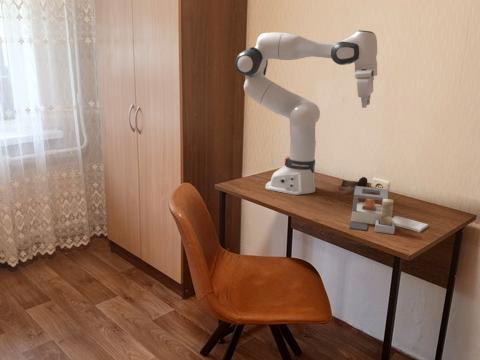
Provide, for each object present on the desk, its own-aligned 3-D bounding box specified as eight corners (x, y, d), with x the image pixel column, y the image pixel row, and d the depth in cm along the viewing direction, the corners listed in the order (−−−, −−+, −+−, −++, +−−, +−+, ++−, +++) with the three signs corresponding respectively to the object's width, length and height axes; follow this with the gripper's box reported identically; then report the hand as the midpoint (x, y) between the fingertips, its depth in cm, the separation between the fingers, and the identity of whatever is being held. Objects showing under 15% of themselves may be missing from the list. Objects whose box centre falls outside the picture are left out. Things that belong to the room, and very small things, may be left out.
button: (364, 209, 176) (365, 199, 175) (364, 206, 179) (365, 196, 178) (373, 210, 175) (375, 200, 174) (374, 207, 178) (375, 197, 177)
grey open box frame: (350, 221, 174) (353, 194, 171) (352, 211, 185) (355, 185, 182) (384, 225, 171) (387, 198, 168) (384, 215, 182) (387, 189, 179)
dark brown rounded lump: (353, 187, 218) (355, 172, 216) (367, 191, 212) (368, 176, 210) (341, 189, 213) (343, 174, 211) (355, 194, 207) (357, 178, 205)
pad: (349, 228, 167) (349, 227, 166) (350, 223, 172) (350, 221, 172) (366, 231, 165) (366, 229, 165) (367, 225, 171) (367, 224, 170)
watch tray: (337, 192, 208) (338, 187, 208) (340, 184, 221) (341, 179, 221) (370, 196, 205) (370, 191, 204) (371, 188, 218) (371, 182, 217)
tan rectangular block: (379, 230, 166) (382, 201, 163) (379, 227, 169) (383, 198, 166) (389, 232, 165) (393, 202, 162) (389, 228, 168) (393, 199, 165)
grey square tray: (374, 231, 165) (375, 224, 164) (375, 225, 171) (375, 218, 170) (393, 234, 163) (394, 227, 163) (393, 227, 169) (394, 221, 169)
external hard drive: (395, 219, 180) (428, 227, 172) (386, 224, 174) (419, 233, 166) (396, 215, 180) (428, 223, 172) (387, 220, 174) (420, 229, 166)
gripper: (361, 70, 200) (361, 103, 203) (354, 74, 181) (354, 109, 185) (376, 69, 197) (376, 102, 201) (370, 73, 179) (370, 109, 183)
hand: (365, 106), depth 193 cm, fingers open, 8 cm apart
